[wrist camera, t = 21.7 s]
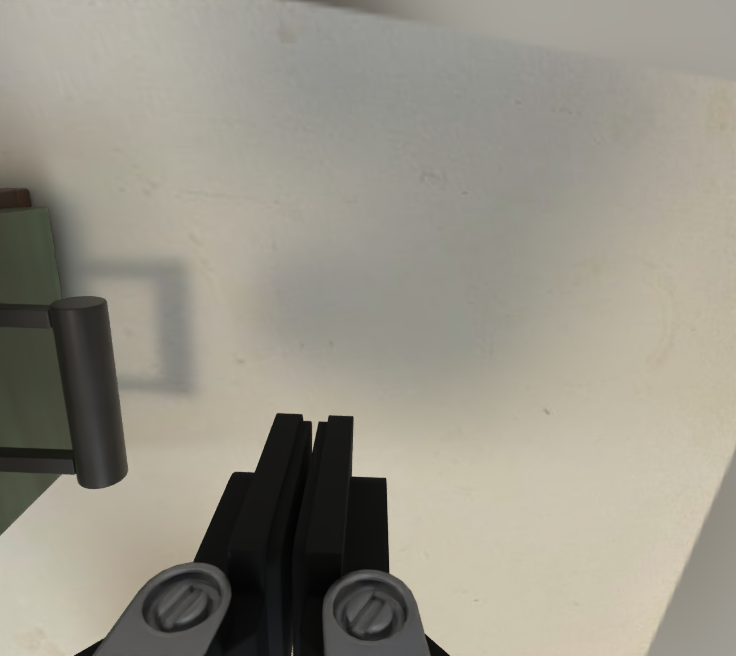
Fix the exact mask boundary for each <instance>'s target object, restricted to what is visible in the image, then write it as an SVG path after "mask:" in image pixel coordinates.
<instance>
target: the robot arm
mask: <svg viewBox="0 0 736 656" xmlns="http://www.w3.org/2000/svg"><path fill="white" fill-rule="evenodd" d="M352 451H353V416H332V415H329V417H328V422H319V423H318V427H317V432H316V437H315V442H314V447H313V452H312V422H311V421H303V415H302V414H283V413H277V414H276V417H275V419H274V422H273V425H272V427H271V430H270V433H269V435H268V438H267V441H266V444H265V446H264V449H263V452H262V454H261V457H260V460H259V462H258V465H257V468H256V471H255V473H252V472H234V473H233V474H232V475H231V477H230V479H229V481H228V484H227V486H226V488H225V491H224V493H223V495H222V497H221V500H220V502H219V504H218V507H217V509H216V511H215V513H214V516H213V518H212V520H211V522H210V525H209V527H208V529H207V532H206V534H205V536H204V538H203V541H202V543H201V545H200V547H199V550H198V552H197V554H196V557H195V559H194V561H193V562H190V563H185V564H180V565H176V566H173V567H171V568H169V569H166V570H164V571H162V572H160V573H159V574H157V575H156V576H154V577H153V578H151V579H150V580H149V581H148V582H147V583H146V584H145V585H144V586H143V587H142V588H141V589H140V590H139V591H138V593H137V594H136V596H135V597H134V598H133V600H132V601H131V603H130V604H129V605H128V607H127V608H126V609H125V611H124V612H123V614H122V615H121V616H120V618H119V619H118V621H117V622H116V623H115V625H114V626H113V628H112V629H111V630H110V632H109V633H108V635H107V636H106V637H105V638H104V639H102V640H100V641H99V642H97V643H95V644H93V645H92V646H90V647H88V648H86V649H85V650H83V651H81V652H80V653H78V654H76V655H74V656H291V652H292V646H293V656H450V655H449V654H447V653H446V652H445V651H444V650H443V649H442V648H441V647H439V646H438V645H437V644H436V643H435V642H434V641H433V640H431V639H430V638H429V637H428V636H427V635H426V634H425V633H424V629H423V625H422V622H421V618H420V614H419V610H418V606H417V603H416V601H415V598H414V596H413V594H412V592H411V590H410V589H409V588H408V587H407V586H406V585H405V584H404V583H403V581H401V580H399V579H398V578H396V577H395V576H393V575H391V574H389V546H388V515H387V483H386V478H373V477H352Z"/></svg>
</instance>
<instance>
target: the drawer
mask: <svg viewBox="0 0 736 656" xmlns="http://www.w3.org/2000/svg"><path fill="white" fill-rule="evenodd" d="M127 472H128V464H127V456H126V448H125V440H124V432H123V424H122V417H121V409H120V401H119V393H118V385H117V377H116V369H115V361H114V353H113V345H112V337H111V329H110V321H109V313H108V305H107V301H106V300H105V299H104V298H100V297H94V296H80V297H70V298H65V299H62V296H61V290H60V283H59V277H58V270H57V264H56V257H55V251H54V245H53V238H52V232H51V225H50V219H49V212H48V208H41V207H9V208H1V209H0V535H1V534H2V533H3V532H4V531H5V530H6V529H7V528H8V527H9V526H10V525H11V524H12V523H13V522H14V521H15V520H16V519H17V518H18V517H19V516H20V515H21V514H22V513H23V512H24V511H25V510H26V509H27V508H28V507H29V506H30V505H31V504H32V503H33V502H34V501H35V500H36V499H37V498H38V497H40V496H41V495H42V494H43V493H44V492H45V491H46V490H47V489H48V488H49V487H50V486H51V485H52V484H53V483H54V482H55V481H56V480H57V479H58V478H59V477H60V476H61V475H62V474H70V475H74V474H77V480H78V483H79V484H80V485H81V486H82V487H84V488H88V489H100V488H105V487H109V486H111V485H114V484H116V483H118V482H120V481H121V480H122V479H123V478H124V477H125V476H126V475H127Z"/></svg>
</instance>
